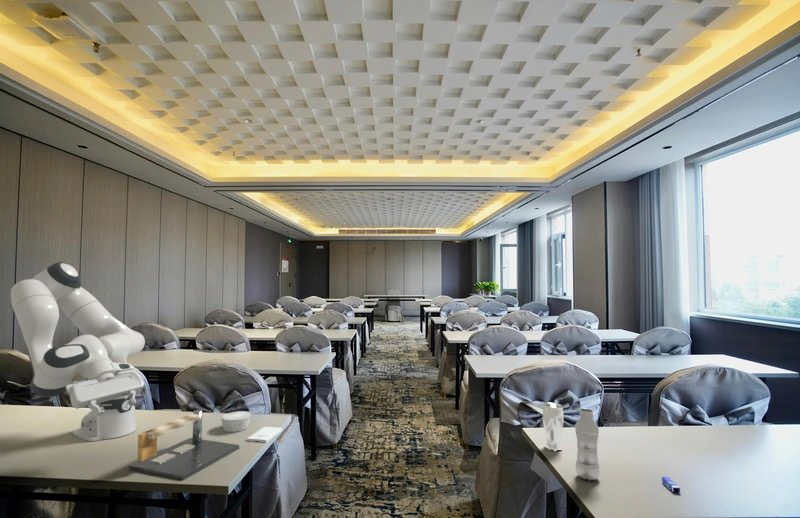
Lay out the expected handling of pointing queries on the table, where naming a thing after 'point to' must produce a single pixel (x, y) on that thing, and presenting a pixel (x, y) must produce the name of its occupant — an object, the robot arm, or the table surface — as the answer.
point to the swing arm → (149, 438)
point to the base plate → (186, 455)
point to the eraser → (670, 484)
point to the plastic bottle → (587, 446)
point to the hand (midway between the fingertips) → (117, 408)
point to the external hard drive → (264, 434)
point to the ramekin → (236, 421)
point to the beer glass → (553, 425)
